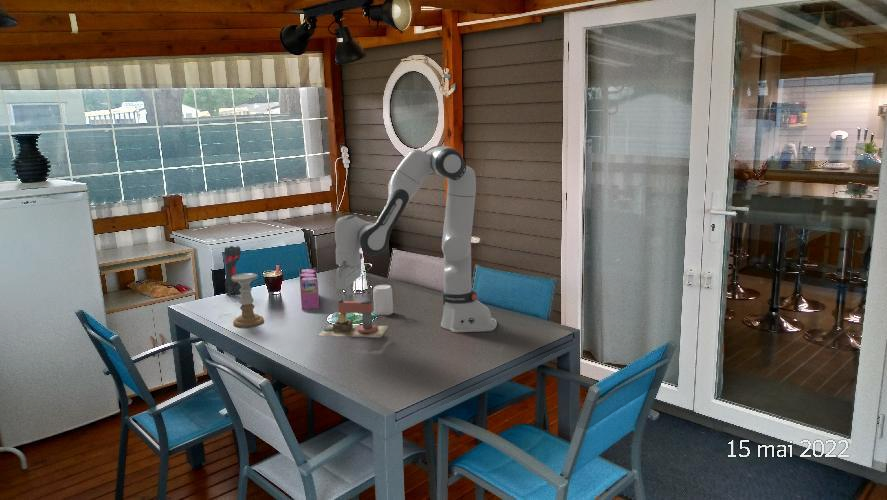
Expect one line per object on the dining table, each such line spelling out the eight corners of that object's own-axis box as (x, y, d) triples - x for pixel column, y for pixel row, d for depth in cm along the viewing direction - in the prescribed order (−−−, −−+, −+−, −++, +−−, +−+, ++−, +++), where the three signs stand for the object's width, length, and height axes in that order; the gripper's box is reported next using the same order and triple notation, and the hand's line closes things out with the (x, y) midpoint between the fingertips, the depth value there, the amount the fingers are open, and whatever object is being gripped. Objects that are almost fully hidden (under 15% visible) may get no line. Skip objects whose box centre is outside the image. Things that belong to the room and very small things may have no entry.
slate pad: (336, 327, 255) (336, 327, 255) (332, 331, 251) (332, 330, 251) (325, 327, 256) (325, 326, 256) (321, 331, 252) (321, 330, 251)
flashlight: (248, 292, 315) (243, 246, 310) (235, 296, 309) (230, 249, 304) (237, 290, 319) (232, 245, 314) (224, 294, 313) (219, 248, 308)
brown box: (352, 327, 255) (352, 320, 254) (348, 332, 249) (347, 325, 248) (338, 327, 256) (337, 320, 255) (333, 332, 250) (332, 324, 249)
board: (389, 328, 256) (388, 325, 255) (380, 340, 243) (380, 336, 243) (328, 327, 260) (328, 323, 259) (317, 338, 247) (317, 334, 247)
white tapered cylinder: (390, 317, 271) (388, 289, 268) (371, 316, 272) (370, 289, 270) (395, 311, 278) (394, 284, 276) (377, 310, 280) (376, 284, 277)
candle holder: (269, 322, 269) (265, 275, 264) (243, 329, 260) (238, 281, 256) (254, 316, 277) (249, 270, 273) (227, 323, 268) (222, 276, 264)
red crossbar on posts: (380, 326, 254) (378, 298, 251) (375, 333, 246) (373, 304, 244) (343, 325, 256) (341, 297, 254) (337, 332, 249) (335, 303, 246)
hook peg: (348, 328, 254) (346, 311, 252) (345, 331, 251) (344, 314, 249) (340, 328, 254) (339, 311, 253) (338, 331, 251) (336, 314, 250)
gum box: (301, 295, 307) (299, 268, 304) (318, 294, 309) (316, 266, 306) (301, 310, 284) (299, 280, 281) (319, 308, 286) (317, 278, 283)
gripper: (347, 265, 229) (349, 302, 232) (363, 253, 248) (364, 287, 251) (330, 265, 230) (332, 302, 233) (347, 252, 249) (349, 287, 252)
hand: (349, 294), depth 242 cm, fingers closed
